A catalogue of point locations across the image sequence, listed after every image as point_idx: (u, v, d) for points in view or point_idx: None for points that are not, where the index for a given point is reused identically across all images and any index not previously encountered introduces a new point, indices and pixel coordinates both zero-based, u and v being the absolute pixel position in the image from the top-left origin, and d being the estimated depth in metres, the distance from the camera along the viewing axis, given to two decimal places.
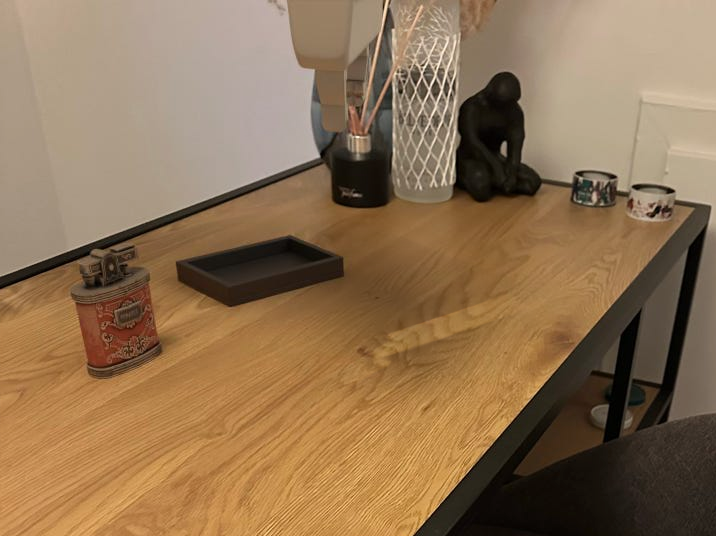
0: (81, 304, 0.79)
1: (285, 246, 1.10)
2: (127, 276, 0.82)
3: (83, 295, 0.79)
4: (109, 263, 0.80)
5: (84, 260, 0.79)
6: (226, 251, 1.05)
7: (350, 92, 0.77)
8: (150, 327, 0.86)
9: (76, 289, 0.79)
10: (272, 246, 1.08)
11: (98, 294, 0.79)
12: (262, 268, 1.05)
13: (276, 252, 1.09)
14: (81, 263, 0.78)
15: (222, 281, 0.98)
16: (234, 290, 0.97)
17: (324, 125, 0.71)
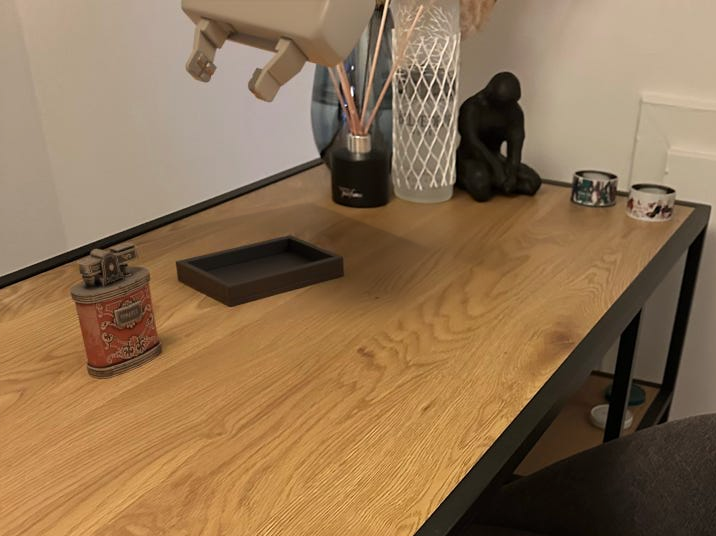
0: (81, 304, 0.79)
1: (285, 246, 1.10)
2: (127, 276, 0.82)
3: (83, 295, 0.79)
4: (109, 263, 0.80)
5: (84, 260, 0.79)
6: (226, 251, 1.05)
7: (203, 66, 0.82)
8: (150, 327, 0.86)
9: (76, 289, 0.79)
10: (272, 246, 1.08)
11: (99, 294, 0.79)
12: (262, 268, 1.05)
13: (276, 252, 1.09)
14: (81, 263, 0.78)
15: (222, 281, 0.98)
16: (234, 290, 0.97)
17: (260, 87, 0.77)
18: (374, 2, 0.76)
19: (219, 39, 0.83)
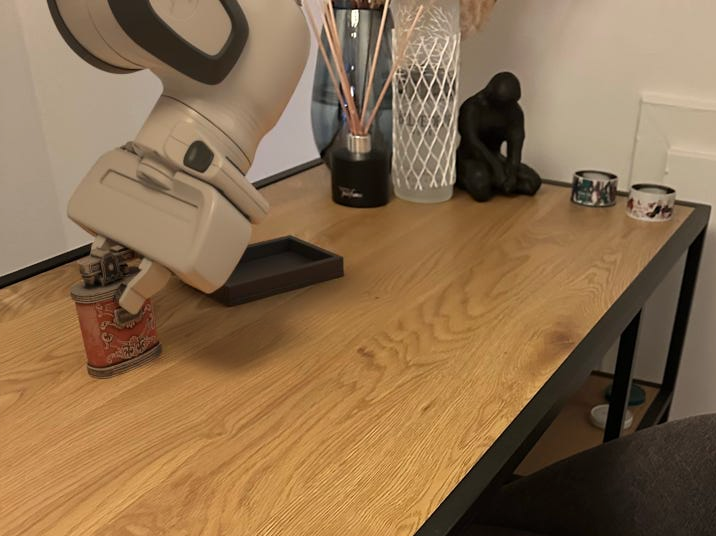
0: (81, 304, 0.79)
1: (285, 246, 1.10)
2: (126, 276, 0.82)
3: (83, 295, 0.79)
4: (109, 263, 0.80)
5: (84, 260, 0.79)
6: None
7: None
8: (150, 327, 0.86)
9: (76, 289, 0.79)
10: (272, 246, 1.08)
11: (98, 294, 0.79)
12: (262, 268, 1.05)
13: (276, 252, 1.09)
14: (80, 262, 0.78)
15: None
16: (234, 290, 0.97)
17: (124, 302, 0.80)
18: (250, 231, 0.79)
19: None
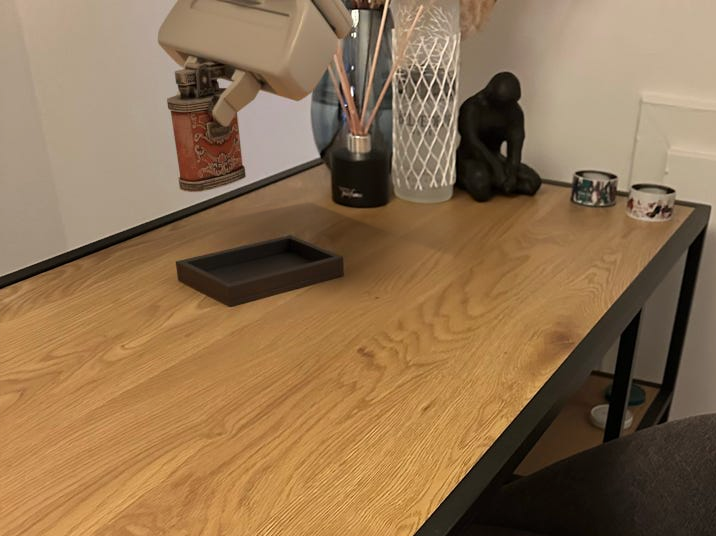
0: (177, 113, 0.84)
1: (285, 246, 1.10)
2: (217, 93, 0.87)
3: (180, 103, 0.84)
4: (203, 75, 0.85)
5: (180, 70, 0.84)
6: (226, 251, 1.05)
7: None
8: (236, 148, 0.91)
9: (172, 99, 0.84)
10: (272, 246, 1.08)
11: (193, 104, 0.84)
12: (262, 268, 1.05)
13: (276, 252, 1.09)
14: (178, 72, 0.83)
15: (222, 281, 0.98)
16: (234, 290, 0.97)
17: (217, 112, 0.85)
18: (337, 42, 0.84)
19: None
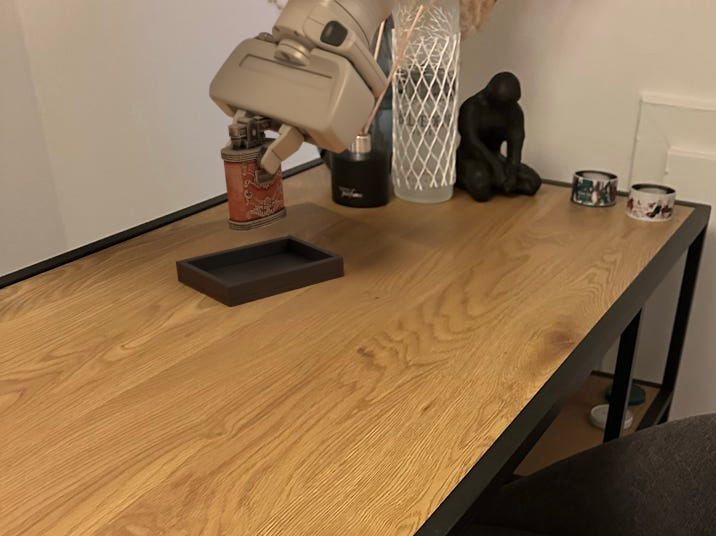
0: (230, 163, 0.94)
1: (285, 246, 1.10)
2: (264, 143, 0.97)
3: (232, 154, 0.93)
4: (253, 128, 0.94)
5: (233, 125, 0.93)
6: (226, 251, 1.05)
7: None
8: (279, 191, 1.00)
9: (225, 150, 0.94)
10: (272, 246, 1.08)
11: (244, 154, 0.94)
12: (262, 268, 1.05)
13: (276, 252, 1.09)
14: (231, 126, 0.93)
15: (222, 281, 0.98)
16: (234, 290, 0.97)
17: (265, 162, 0.95)
18: (373, 101, 0.94)
19: None
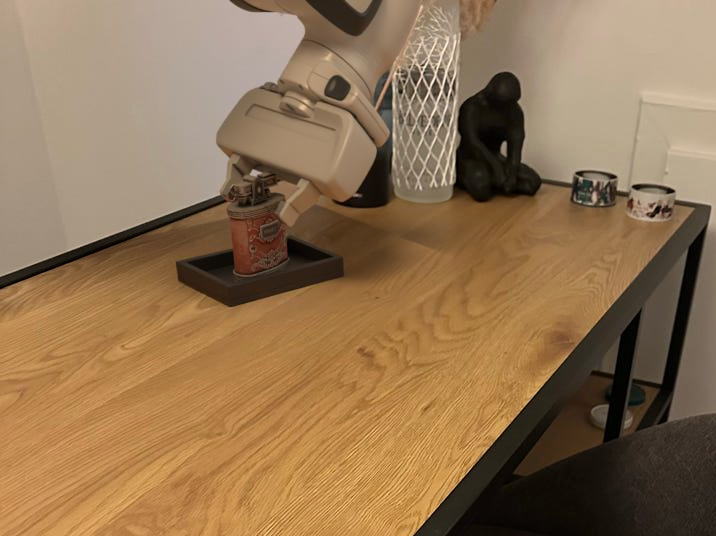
0: (236, 219, 0.97)
1: None
2: (268, 199, 1.00)
3: (238, 211, 0.97)
4: (258, 186, 0.98)
5: (239, 183, 0.97)
6: (226, 251, 1.05)
7: None
8: (283, 243, 1.04)
9: (231, 207, 0.97)
10: None
11: (250, 211, 0.97)
12: None
13: None
14: (237, 184, 0.96)
15: (222, 281, 0.98)
16: (234, 290, 0.97)
17: (283, 215, 0.96)
18: (375, 151, 0.97)
19: (247, 169, 1.03)
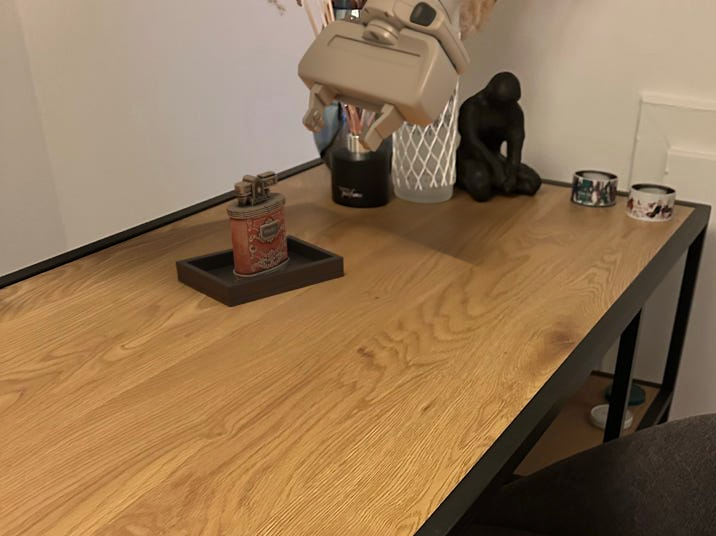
0: (236, 219, 0.97)
1: None
2: (268, 199, 1.00)
3: (238, 212, 0.97)
4: (258, 186, 0.98)
5: (239, 183, 0.97)
6: (226, 251, 1.05)
7: (317, 120, 1.05)
8: (283, 243, 1.04)
9: (231, 207, 0.97)
10: None
11: (250, 211, 0.97)
12: None
13: None
14: (237, 185, 0.96)
15: (222, 281, 0.98)
16: (234, 290, 0.97)
17: (368, 140, 1.00)
18: (457, 78, 1.00)
19: (328, 99, 1.06)
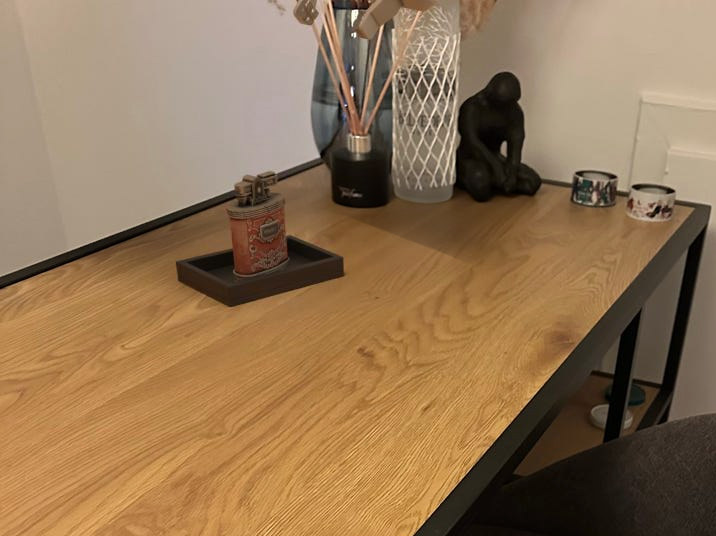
0: (236, 219, 0.97)
1: None
2: (268, 199, 1.00)
3: (238, 212, 0.97)
4: (258, 186, 0.98)
5: (239, 183, 0.97)
6: (226, 251, 1.05)
7: (309, 11, 0.98)
8: (283, 243, 1.04)
9: (231, 207, 0.97)
10: None
11: (250, 211, 0.97)
12: None
13: None
14: (237, 185, 0.96)
15: (222, 281, 0.98)
16: (234, 290, 0.97)
17: (363, 26, 0.93)
18: None
19: None
